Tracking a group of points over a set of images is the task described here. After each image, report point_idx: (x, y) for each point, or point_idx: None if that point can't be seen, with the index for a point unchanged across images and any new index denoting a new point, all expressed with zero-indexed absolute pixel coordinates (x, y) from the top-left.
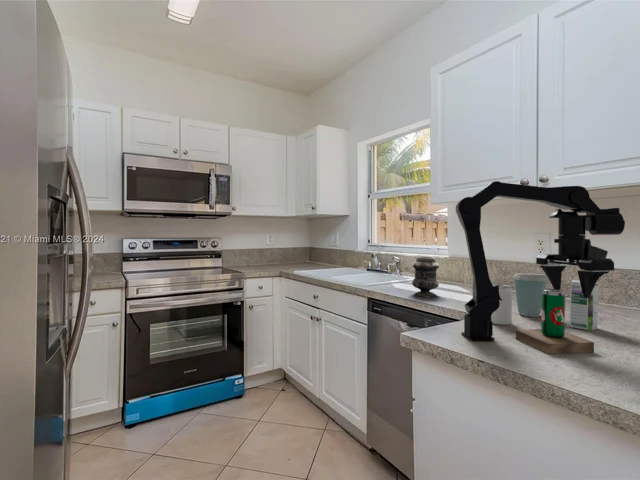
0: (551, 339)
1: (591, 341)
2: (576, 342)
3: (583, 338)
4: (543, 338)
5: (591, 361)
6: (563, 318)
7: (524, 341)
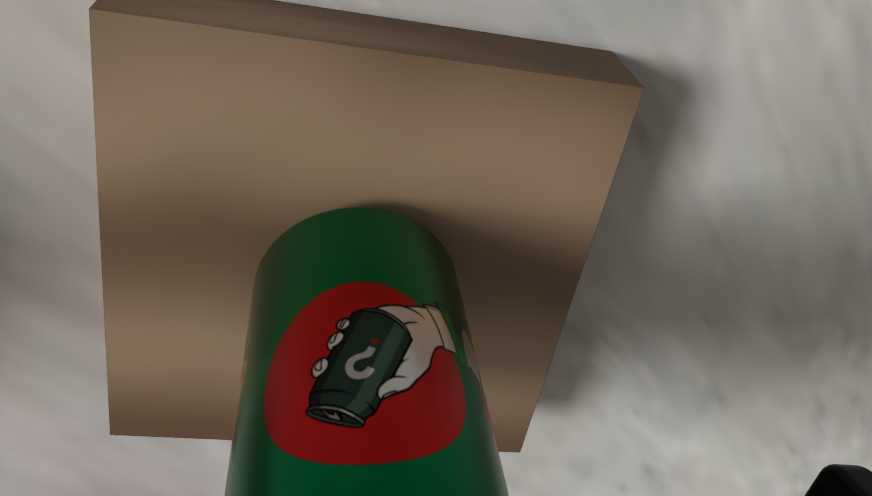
0: None
1: (618, 89)
2: (578, 246)
3: (519, 70)
4: None
5: (714, 253)
6: (485, 401)
7: None
